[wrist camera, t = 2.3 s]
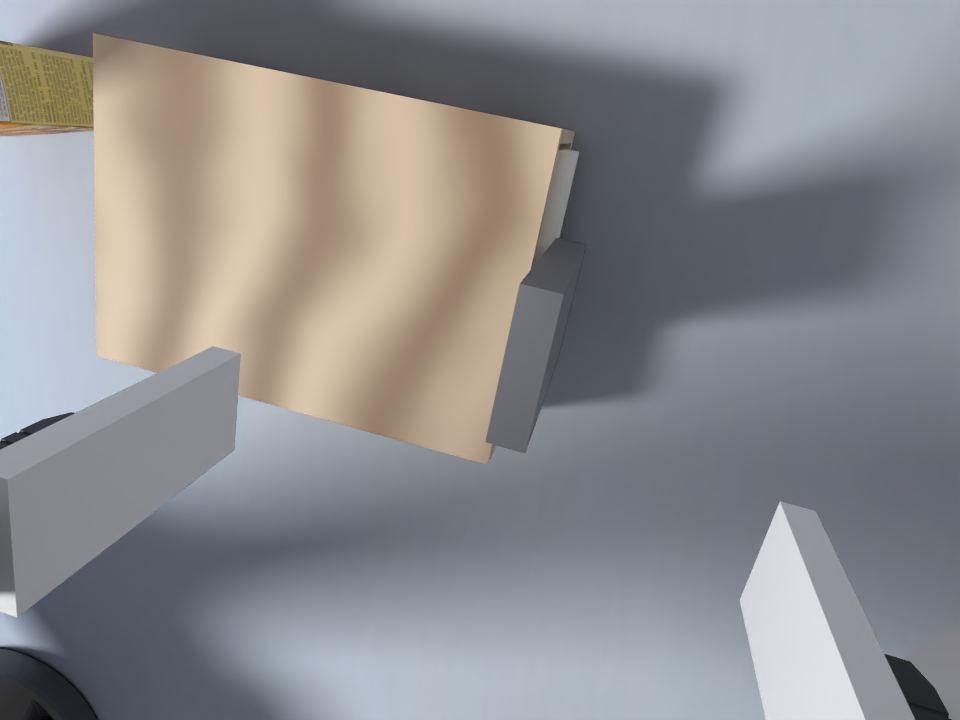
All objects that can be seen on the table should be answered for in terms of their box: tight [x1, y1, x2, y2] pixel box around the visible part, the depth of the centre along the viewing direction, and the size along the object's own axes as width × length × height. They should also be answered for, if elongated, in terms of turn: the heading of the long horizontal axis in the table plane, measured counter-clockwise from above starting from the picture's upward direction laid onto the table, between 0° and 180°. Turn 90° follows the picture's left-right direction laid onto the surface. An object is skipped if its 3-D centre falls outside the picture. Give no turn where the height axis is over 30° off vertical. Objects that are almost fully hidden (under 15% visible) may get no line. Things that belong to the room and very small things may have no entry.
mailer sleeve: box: [93, 33, 575, 465], centre depth 35 cm, size 22×16×7 cm
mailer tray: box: [485, 147, 586, 453], centre depth 31 cm, size 22×14×14 cm, turn 79°
